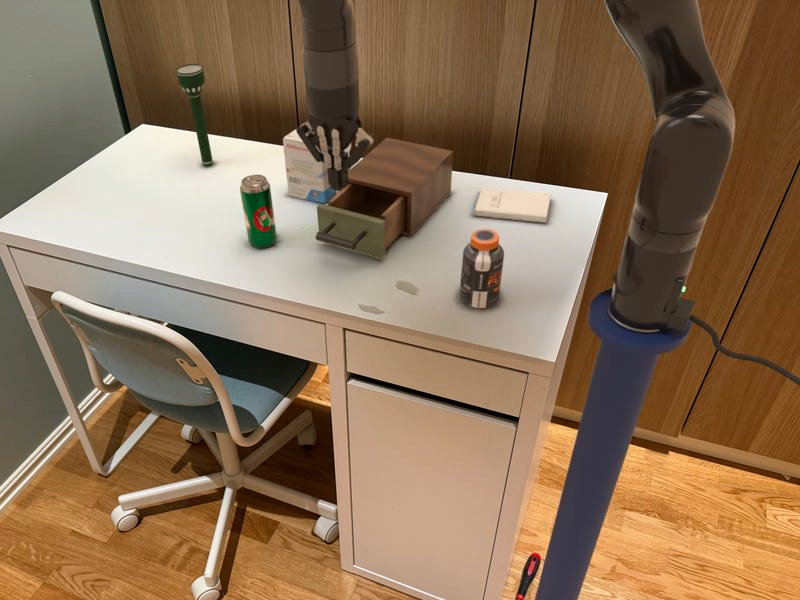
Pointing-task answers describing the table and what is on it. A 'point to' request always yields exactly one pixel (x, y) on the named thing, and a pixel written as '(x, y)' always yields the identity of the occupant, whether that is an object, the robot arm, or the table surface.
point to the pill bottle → (481, 269)
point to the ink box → (305, 171)
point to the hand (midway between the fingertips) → (338, 188)
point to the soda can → (258, 211)
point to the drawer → (362, 219)
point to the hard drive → (513, 205)
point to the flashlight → (196, 105)
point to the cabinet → (408, 176)
